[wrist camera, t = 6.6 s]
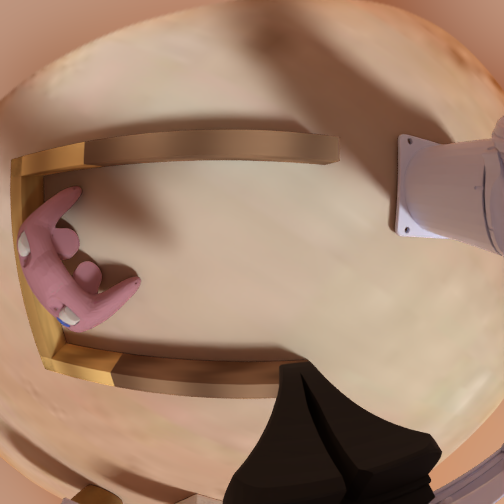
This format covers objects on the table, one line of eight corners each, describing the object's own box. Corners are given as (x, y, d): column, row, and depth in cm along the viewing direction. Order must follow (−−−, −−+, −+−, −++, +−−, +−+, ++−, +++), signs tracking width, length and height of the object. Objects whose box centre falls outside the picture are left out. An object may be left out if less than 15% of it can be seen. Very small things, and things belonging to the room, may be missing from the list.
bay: (325, 144, 18) (339, 137, 15) (306, 373, 22) (313, 395, 19) (33, 160, 17) (11, 159, 14) (59, 353, 21) (45, 368, 18)
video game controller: (63, 207, 19) (0, 242, 13) (80, 176, 17) (3, 210, 11) (125, 299, 21) (70, 351, 15) (151, 283, 19) (86, 344, 13)
